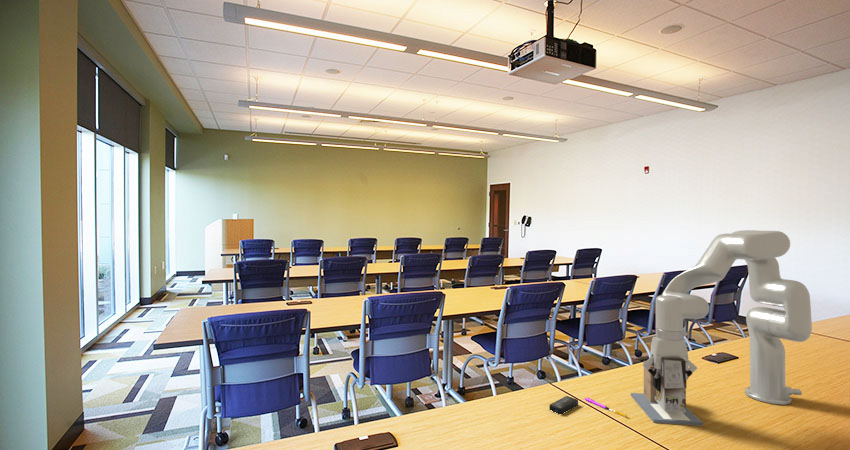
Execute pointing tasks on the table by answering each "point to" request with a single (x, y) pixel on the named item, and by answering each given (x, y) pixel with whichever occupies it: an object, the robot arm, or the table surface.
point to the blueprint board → (655, 410)
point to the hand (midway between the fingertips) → (669, 389)
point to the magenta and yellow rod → (604, 407)
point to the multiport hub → (563, 404)
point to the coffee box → (672, 385)
